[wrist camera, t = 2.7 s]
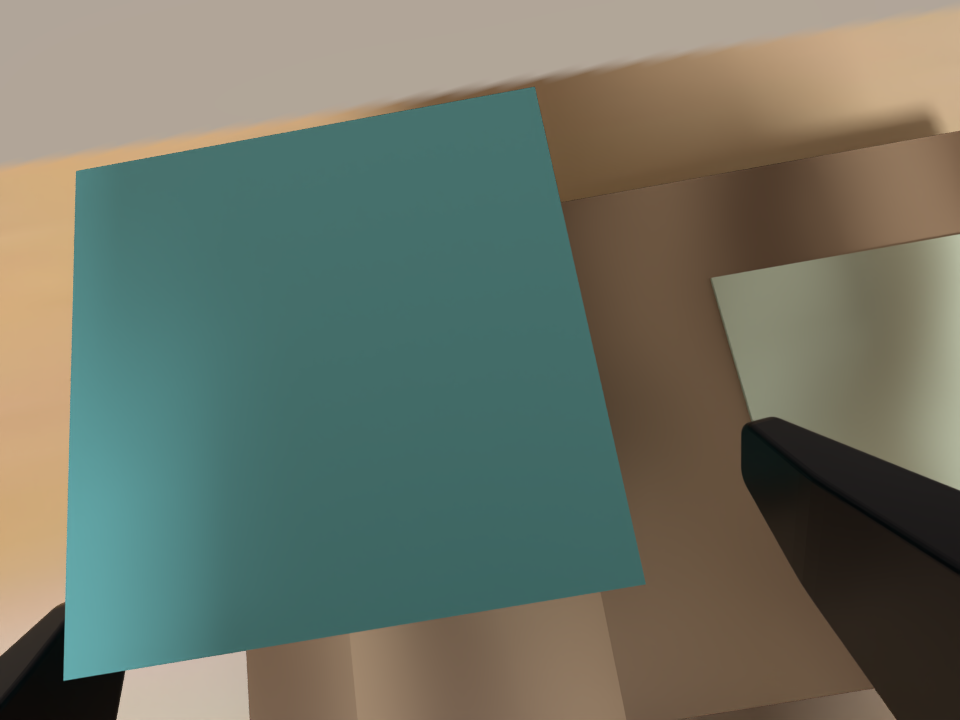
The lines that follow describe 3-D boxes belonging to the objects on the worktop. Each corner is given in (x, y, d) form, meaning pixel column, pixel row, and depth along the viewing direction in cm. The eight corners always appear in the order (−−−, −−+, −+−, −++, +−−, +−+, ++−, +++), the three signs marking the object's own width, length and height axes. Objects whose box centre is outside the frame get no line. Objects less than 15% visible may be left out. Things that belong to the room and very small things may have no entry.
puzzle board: (941, 173, 18) (1008, 120, 16) (1127, 609, 15) (1250, 630, 12) (263, 294, 19) (224, 260, 16) (294, 744, 15) (251, 790, 13)
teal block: (523, 378, 18) (534, 85, 6) (552, 531, 16) (647, 584, 4) (378, 404, 18) (76, 171, 6) (396, 557, 16) (64, 680, 4)
